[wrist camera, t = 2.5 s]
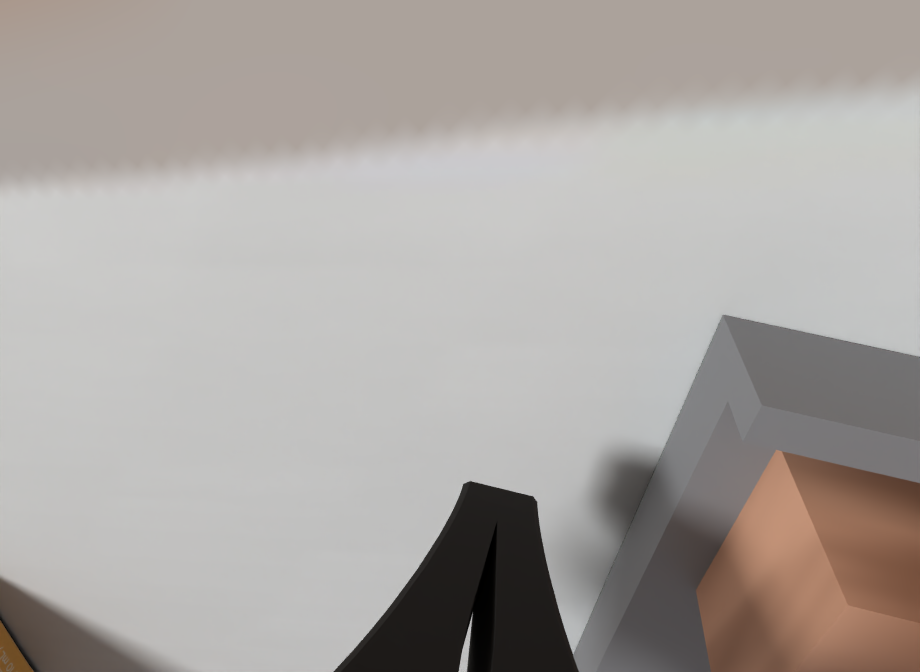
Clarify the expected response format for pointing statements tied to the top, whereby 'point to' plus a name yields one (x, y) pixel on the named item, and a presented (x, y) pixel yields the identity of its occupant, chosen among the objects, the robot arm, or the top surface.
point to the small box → (11, 654)
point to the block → (817, 574)
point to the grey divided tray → (742, 474)
